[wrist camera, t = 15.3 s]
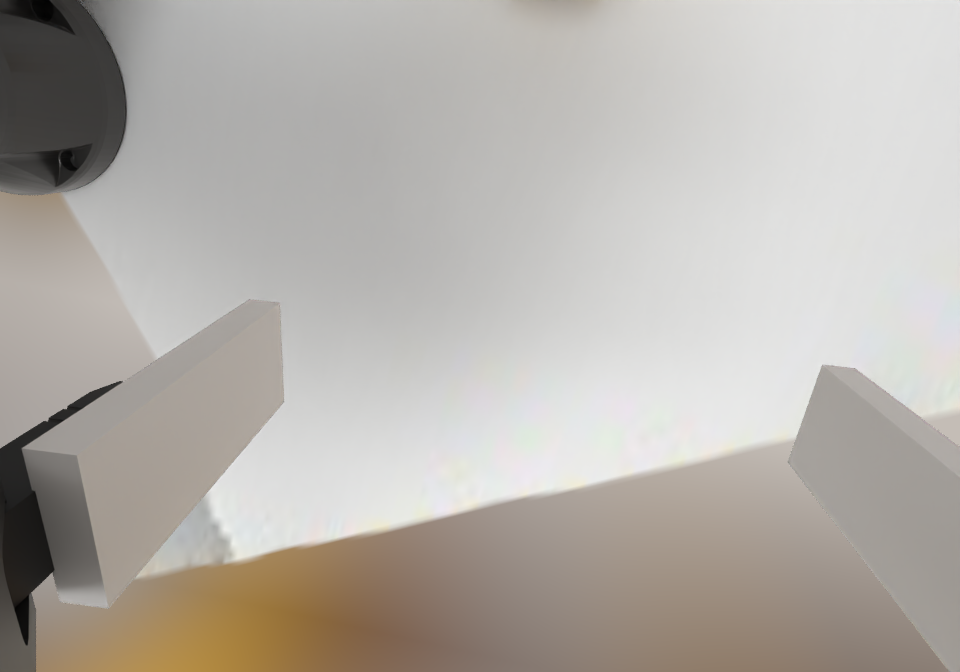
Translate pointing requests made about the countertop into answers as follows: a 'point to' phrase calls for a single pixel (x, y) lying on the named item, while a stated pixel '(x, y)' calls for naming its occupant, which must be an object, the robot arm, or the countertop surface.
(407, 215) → the countertop surface
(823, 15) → the countertop surface
